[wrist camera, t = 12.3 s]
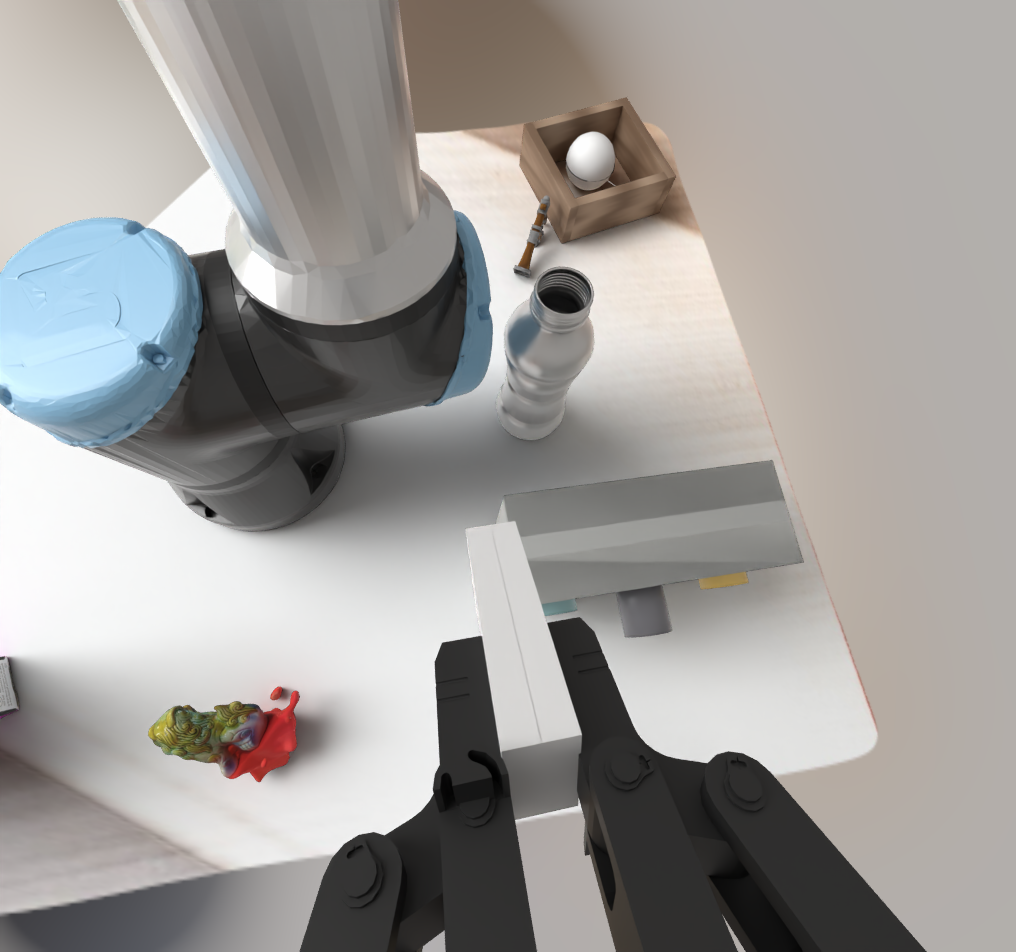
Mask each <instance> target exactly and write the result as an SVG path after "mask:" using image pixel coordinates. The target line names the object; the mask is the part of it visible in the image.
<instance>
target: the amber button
mask: <svg viewBox="0 0 1016 952" xmlns="http://www.w3.org/2000/svg"><path fill="white" fill-rule="evenodd" d="M698 580H699V584H700V588H701V589H712V588H720V587H727V586H733V585H740V584H745V583H749V582H748V578H747V574H746V572H740V573H734V574H727V575H721V576H715V577H709V578H702V579H698Z"/></svg>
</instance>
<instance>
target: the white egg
mask: <svg viewBox="0 0 1016 952" xmlns="http://www.w3.org/2000/svg"><path fill="white" fill-rule="evenodd" d="M614 168H615V153H614V148H613V145H612V143H611V142H610V140H609V139H608V138H607V137H606V136H605V135H603V134H601V133H599V132H588V133H585V134H582V135H581V136H579V137H578V138H577V139H576V140H575V141H574V142H573V143H572V145H571V146H570V148H569V151H568V153H567V158H566V170H567V174H568V177H569V179H570V180H571V182H572V183H573V184H574V185H575V186H577V187H578V188H580V189H583V190H594V189H597V188H599V187H600V186H602V185H603V184H604V183H605V182H607V181H608V179H609V177H610V176H611V174H612V173H613V171H614ZM610 183H611V182H610ZM611 184H612V183H611ZM613 185H614V184H613ZM614 186H615V185H614Z"/></svg>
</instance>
